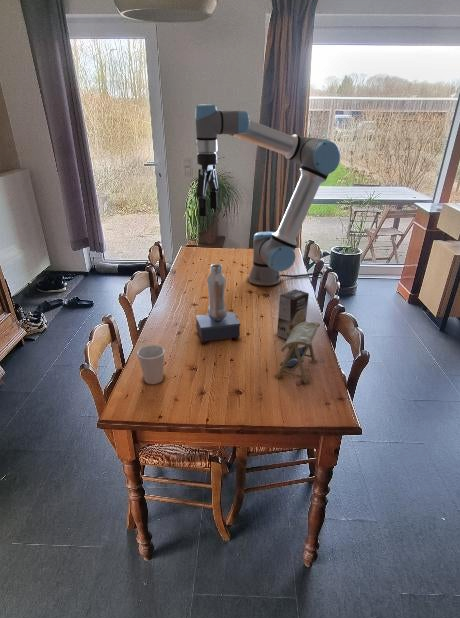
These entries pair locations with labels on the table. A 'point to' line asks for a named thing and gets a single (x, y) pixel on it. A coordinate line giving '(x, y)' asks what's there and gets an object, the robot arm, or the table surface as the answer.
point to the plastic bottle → (216, 293)
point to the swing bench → (297, 354)
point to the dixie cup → (151, 363)
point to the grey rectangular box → (218, 327)
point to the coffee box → (291, 311)
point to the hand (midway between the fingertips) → (208, 212)
